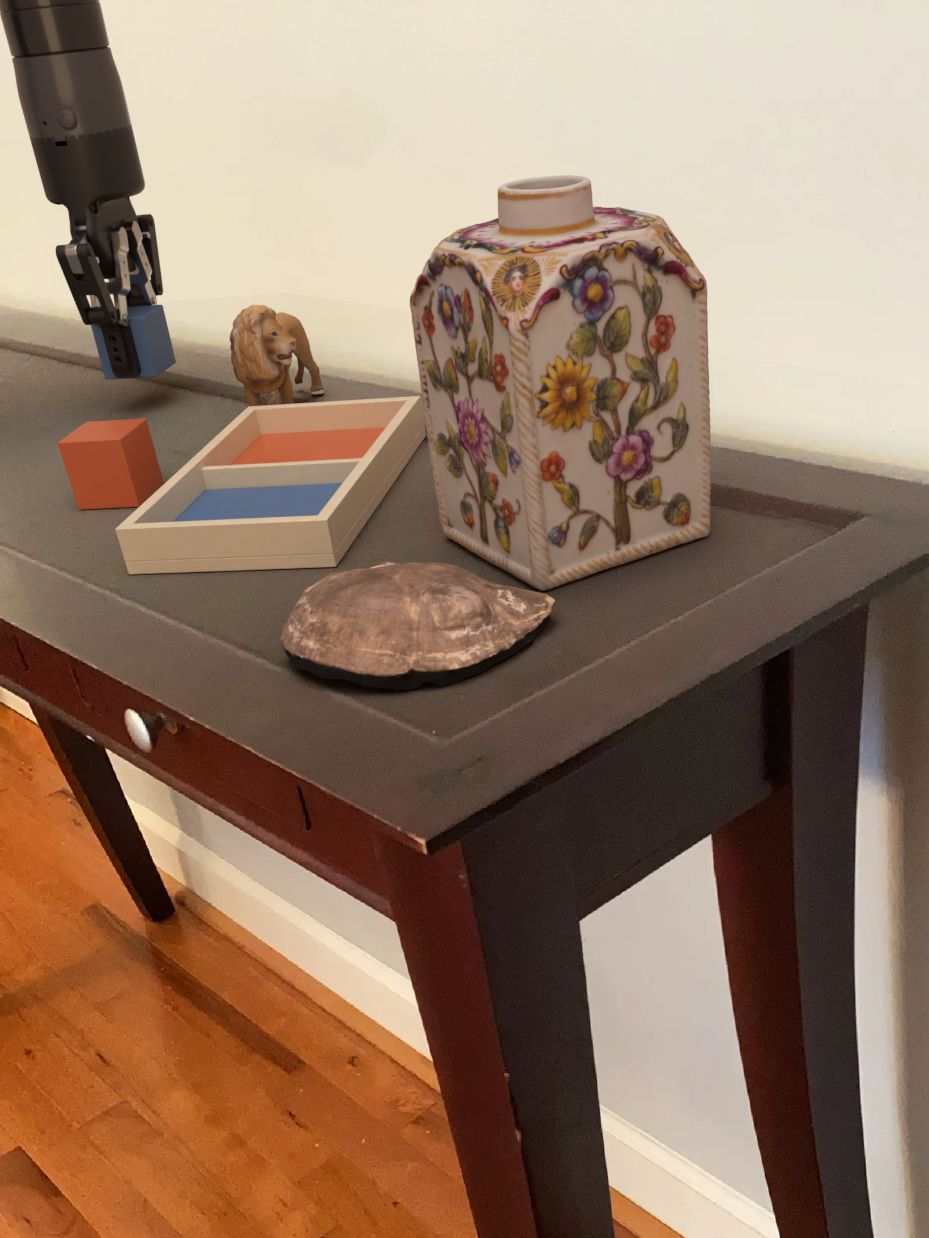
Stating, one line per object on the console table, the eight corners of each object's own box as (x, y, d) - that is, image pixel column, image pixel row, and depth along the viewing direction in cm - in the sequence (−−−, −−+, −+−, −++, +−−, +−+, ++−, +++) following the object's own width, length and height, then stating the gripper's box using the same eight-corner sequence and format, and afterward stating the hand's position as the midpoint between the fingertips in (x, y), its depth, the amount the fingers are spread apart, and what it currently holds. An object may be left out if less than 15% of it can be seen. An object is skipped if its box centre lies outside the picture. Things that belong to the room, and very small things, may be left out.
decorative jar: (437, 538, 76) (386, 192, 65) (601, 487, 80) (580, 154, 69) (540, 598, 67) (502, 212, 56) (718, 538, 71) (715, 167, 60)
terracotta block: (78, 510, 87) (57, 442, 84) (105, 487, 90) (85, 421, 87) (139, 507, 86) (119, 439, 83) (164, 484, 89) (146, 417, 87)
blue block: (105, 379, 104) (89, 320, 101) (126, 365, 108) (111, 307, 105) (156, 377, 103) (141, 317, 101) (176, 362, 107) (162, 304, 104)
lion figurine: (313, 439, 94) (287, 307, 89) (242, 447, 94) (211, 316, 89) (328, 385, 106) (306, 266, 100) (265, 393, 106) (240, 274, 101)
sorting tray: (128, 574, 76) (114, 528, 74) (257, 445, 94) (248, 406, 93) (336, 567, 74) (326, 519, 72) (426, 435, 92) (420, 395, 90)
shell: (436, 717, 58) (424, 644, 56) (237, 667, 64) (219, 600, 62) (572, 615, 65) (566, 547, 63) (382, 580, 71) (370, 516, 69)
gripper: (73, 118, 101) (131, 348, 112) (-12, 141, 90) (61, 394, 100) (162, 110, 100) (212, 343, 110) (86, 133, 89) (150, 390, 99)
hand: (140, 366), depth 105 cm, fingers closed on blue block, 4 cm apart
